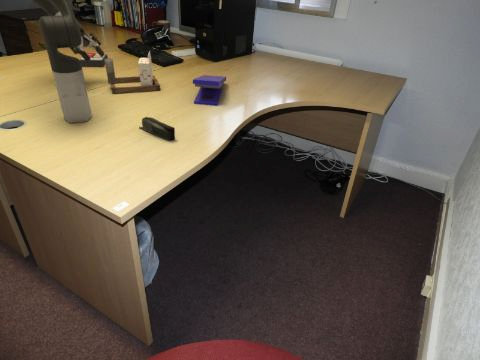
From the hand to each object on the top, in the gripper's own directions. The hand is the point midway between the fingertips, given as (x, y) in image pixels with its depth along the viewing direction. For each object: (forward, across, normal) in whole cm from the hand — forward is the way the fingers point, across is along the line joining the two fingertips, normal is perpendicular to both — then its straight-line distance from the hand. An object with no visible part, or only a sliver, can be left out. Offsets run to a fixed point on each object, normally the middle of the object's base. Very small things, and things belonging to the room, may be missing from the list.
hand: (96, 57), depth 141 cm
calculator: (-9, +26, +27) cm, 38 cm away
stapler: (+41, +17, -23) cm, 50 cm away
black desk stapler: (+41, -28, -24) cm, 55 cm away
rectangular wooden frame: (+18, +6, -1) cm, 19 cm away
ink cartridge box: (+21, +9, -4) cm, 23 cm away
